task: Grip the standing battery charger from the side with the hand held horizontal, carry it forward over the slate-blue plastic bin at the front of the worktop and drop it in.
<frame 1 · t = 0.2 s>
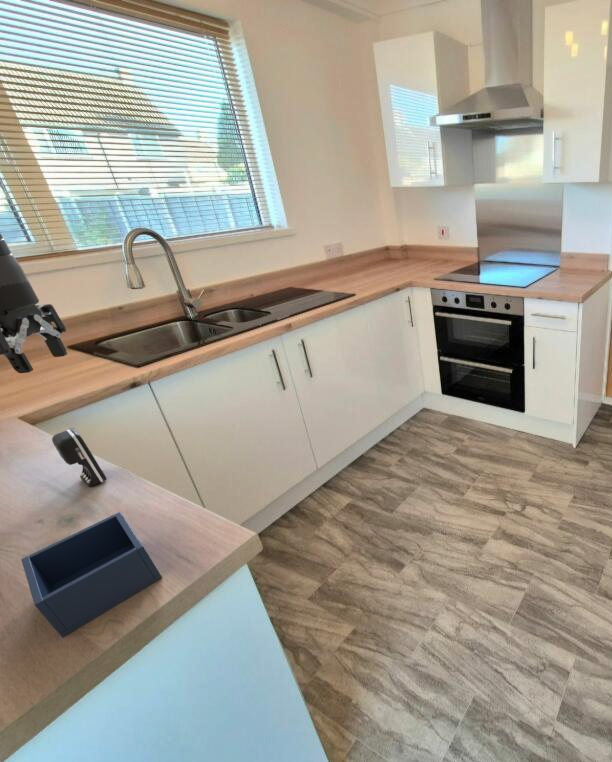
hand: (44, 363, 85), 24 cm above the table, tool pointing down, fingers open, 8 cm apart
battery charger: (92, 481, 90), on the table
bin: (104, 584, 66), on the table
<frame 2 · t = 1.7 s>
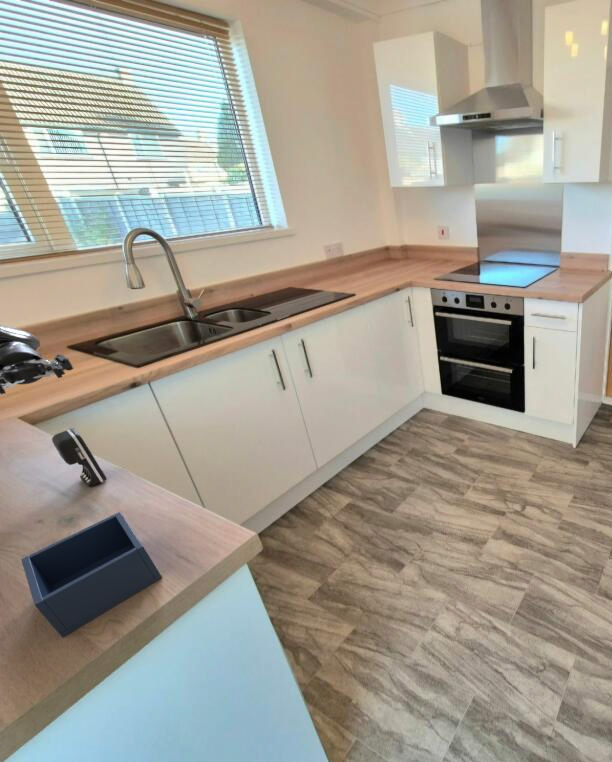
hand: (30, 381, 88), 20 cm above the table, tool horizontal, fingers open, 8 cm apart
nothing on the table moved.
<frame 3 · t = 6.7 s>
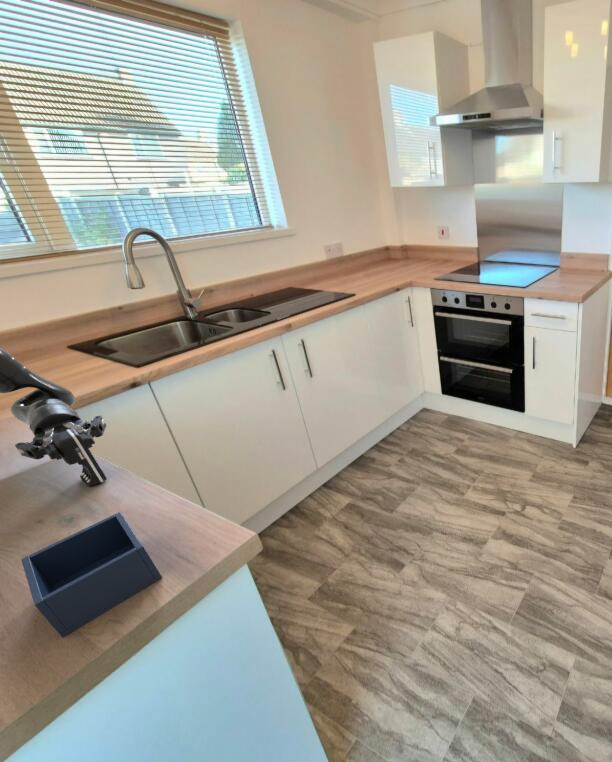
hand: (72, 449, 84), 9 cm above the table, tool horizontal, fingers closed on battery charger, 4 cm apart
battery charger: (92, 481, 90), on the table, touching gripper
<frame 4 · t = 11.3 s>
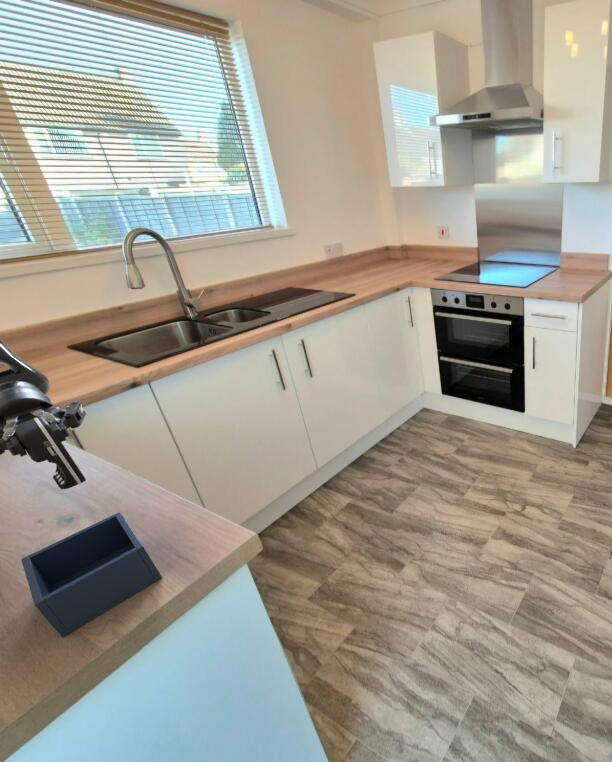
hand: (40, 443, 66), 20 cm above the table, tool horizontal, fingers closed on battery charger, 4 cm apart
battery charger: (68, 482, 72), point 11 cm above the table, touching gripper
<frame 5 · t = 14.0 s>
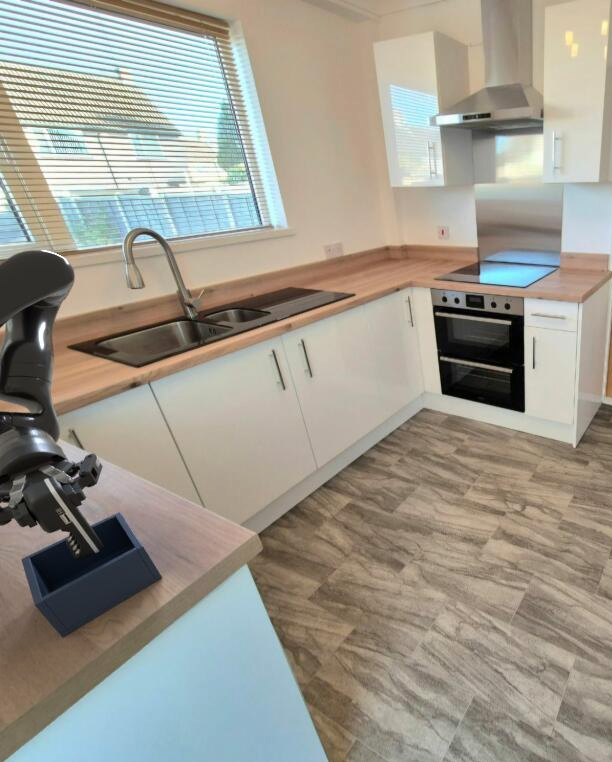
hand: (53, 510, 57), 16 cm above the table, tool horizontal, fingers closed on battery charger, 4 cm apart
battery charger: (84, 549, 63), point 7 cm above the table, touching gripper
when the fingers open (10 cm above the table, at t = 15.9 s): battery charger stays where it is, resting on bin.
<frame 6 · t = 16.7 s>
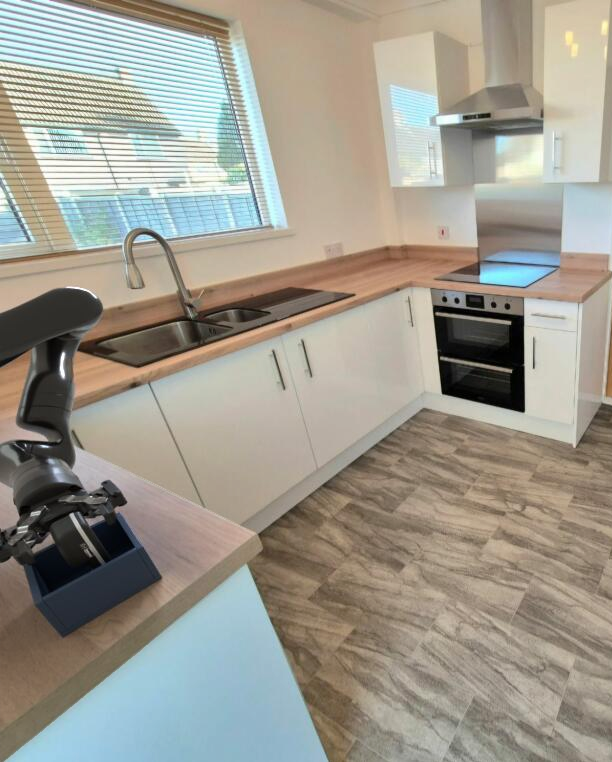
hand: (70, 539, 60), 11 cm above the table, tool horizontal, fingers open, 8 cm apart
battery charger: (104, 580, 66), point 1 cm above the table, touching bin
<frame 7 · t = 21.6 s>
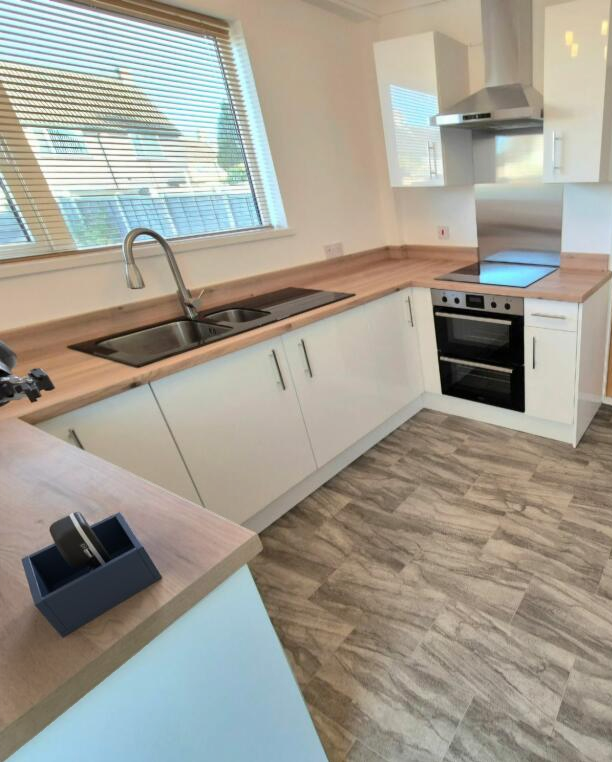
nothing on the table moved.
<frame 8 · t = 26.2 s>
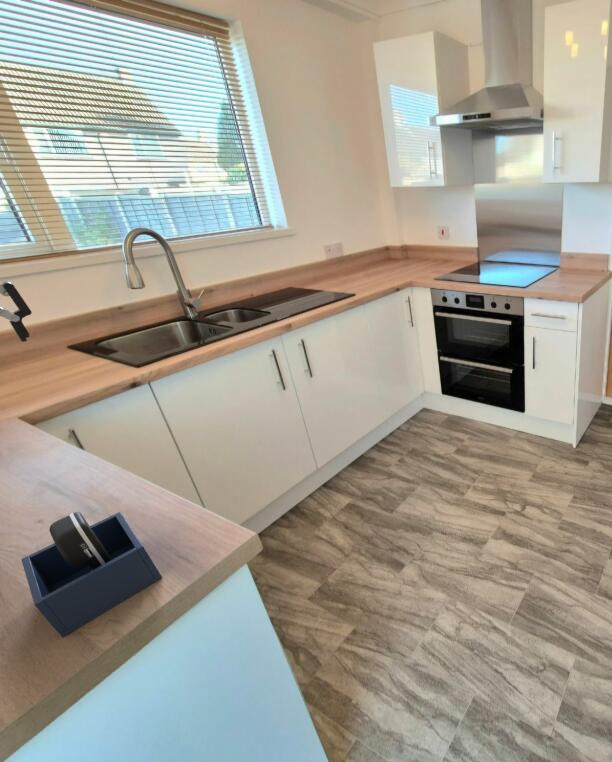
nothing on the table moved.
at the end: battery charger inside the target area in the bin (0.2 cm from its centre), point 0.6 cm above the bin's base; the gripper is holding nothing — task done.
